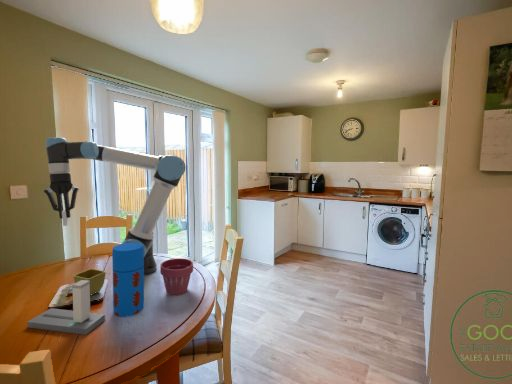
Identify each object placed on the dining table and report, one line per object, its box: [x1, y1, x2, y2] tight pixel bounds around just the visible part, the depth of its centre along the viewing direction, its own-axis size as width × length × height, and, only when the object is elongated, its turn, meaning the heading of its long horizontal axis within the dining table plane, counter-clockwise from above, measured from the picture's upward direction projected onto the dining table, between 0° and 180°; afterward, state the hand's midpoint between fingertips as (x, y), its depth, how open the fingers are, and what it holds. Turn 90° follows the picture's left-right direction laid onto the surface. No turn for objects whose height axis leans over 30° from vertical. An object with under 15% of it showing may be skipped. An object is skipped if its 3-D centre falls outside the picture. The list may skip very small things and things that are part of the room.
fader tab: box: [71, 280, 91, 323], centre depth 92 cm, size 3×4×13 cm
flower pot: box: [73, 268, 107, 296], centre depth 116 cm, size 9×9×9 cm
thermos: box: [111, 243, 145, 318], centre depth 103 cm, size 11×11×25 cm
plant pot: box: [159, 257, 194, 296], centre depth 120 cm, size 14×14×13 cm
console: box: [26, 307, 106, 336], centre depth 94 cm, size 22×9×2 cm, turn 82°
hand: (66, 225), depth 121 cm, fingers closed
